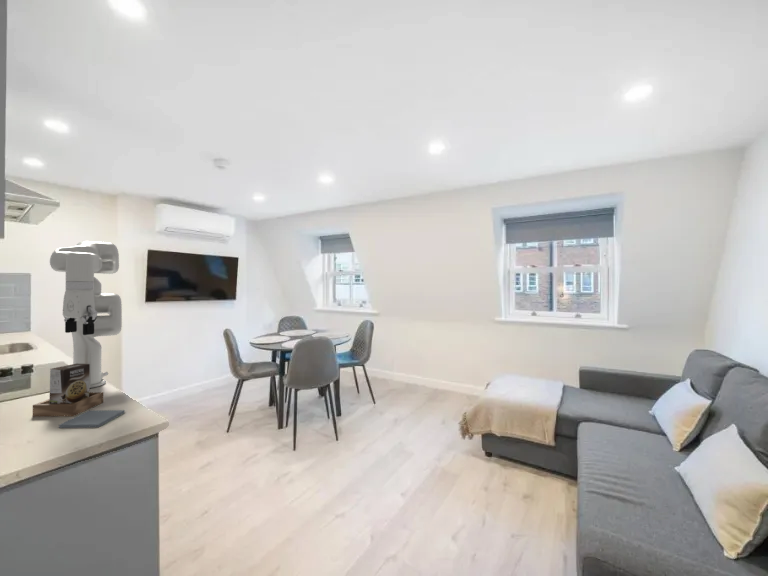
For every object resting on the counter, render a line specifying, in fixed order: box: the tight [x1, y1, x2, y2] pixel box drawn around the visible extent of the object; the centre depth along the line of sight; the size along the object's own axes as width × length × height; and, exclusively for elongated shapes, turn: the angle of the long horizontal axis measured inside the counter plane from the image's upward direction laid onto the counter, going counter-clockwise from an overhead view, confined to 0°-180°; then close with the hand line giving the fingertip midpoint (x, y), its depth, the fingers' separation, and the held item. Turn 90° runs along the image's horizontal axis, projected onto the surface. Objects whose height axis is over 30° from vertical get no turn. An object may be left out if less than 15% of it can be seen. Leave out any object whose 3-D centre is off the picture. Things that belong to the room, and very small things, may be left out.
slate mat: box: [58, 409, 126, 429], centre depth 112 cm, size 12×12×1 cm
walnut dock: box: [32, 391, 104, 418], centre depth 121 cm, size 13×13×4 cm
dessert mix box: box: [49, 363, 90, 404], centre depth 121 cm, size 9×6×16 cm
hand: (79, 333), depth 119 cm, fingers open, 9 cm apart
